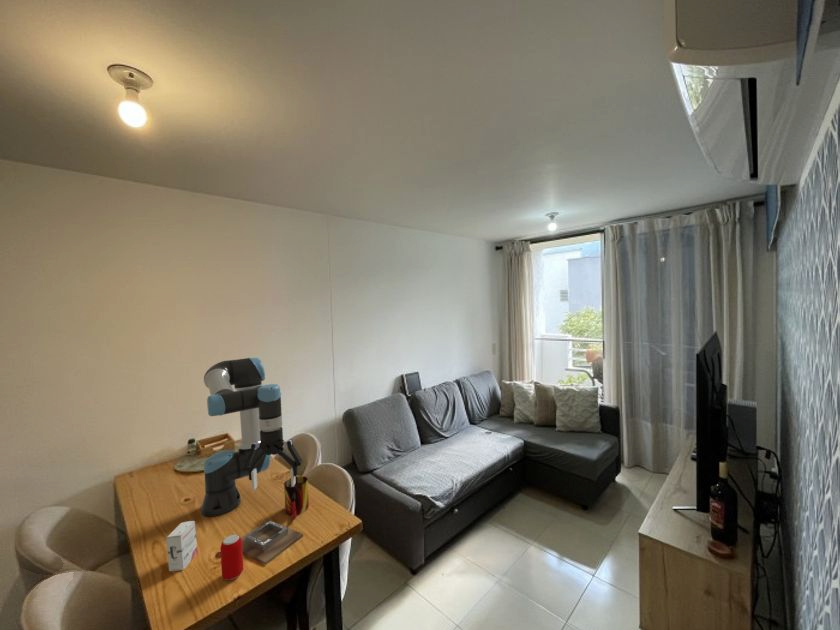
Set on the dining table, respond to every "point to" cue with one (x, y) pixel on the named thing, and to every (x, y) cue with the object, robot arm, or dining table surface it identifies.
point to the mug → (296, 496)
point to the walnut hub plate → (274, 550)
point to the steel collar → (264, 546)
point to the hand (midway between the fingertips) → (274, 486)
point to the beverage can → (231, 557)
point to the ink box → (181, 546)
